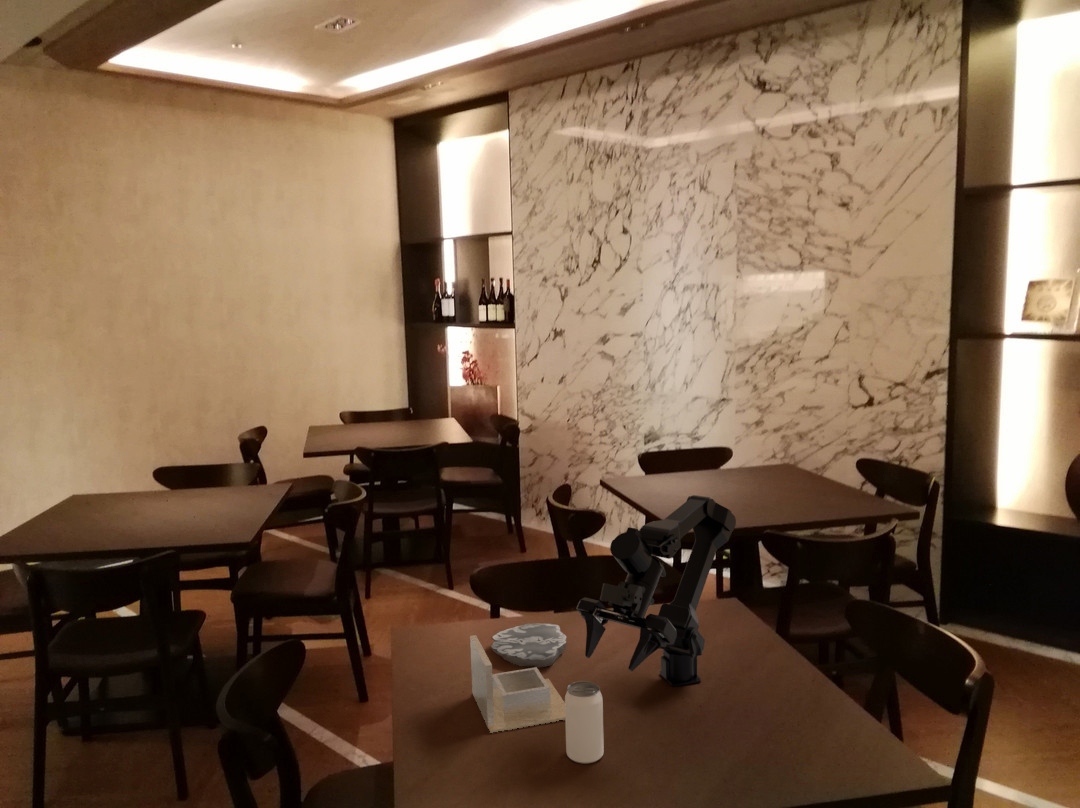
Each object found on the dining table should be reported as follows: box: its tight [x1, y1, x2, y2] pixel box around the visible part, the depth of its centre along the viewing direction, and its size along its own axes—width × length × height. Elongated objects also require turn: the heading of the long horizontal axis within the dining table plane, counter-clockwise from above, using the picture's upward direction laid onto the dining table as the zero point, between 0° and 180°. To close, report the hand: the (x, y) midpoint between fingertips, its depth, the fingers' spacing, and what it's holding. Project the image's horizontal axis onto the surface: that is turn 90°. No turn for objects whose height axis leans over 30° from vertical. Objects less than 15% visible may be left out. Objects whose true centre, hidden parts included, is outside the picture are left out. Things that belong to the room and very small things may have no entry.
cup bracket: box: [469, 634, 565, 734], centre depth 155 cm, size 16×16×13 cm
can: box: [564, 680, 605, 765], centre depth 137 cm, size 6×6×12 cm
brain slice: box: [490, 622, 567, 669], centre depth 179 cm, size 20×17×3 cm
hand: (608, 663), depth 142 cm, fingers open, 9 cm apart
